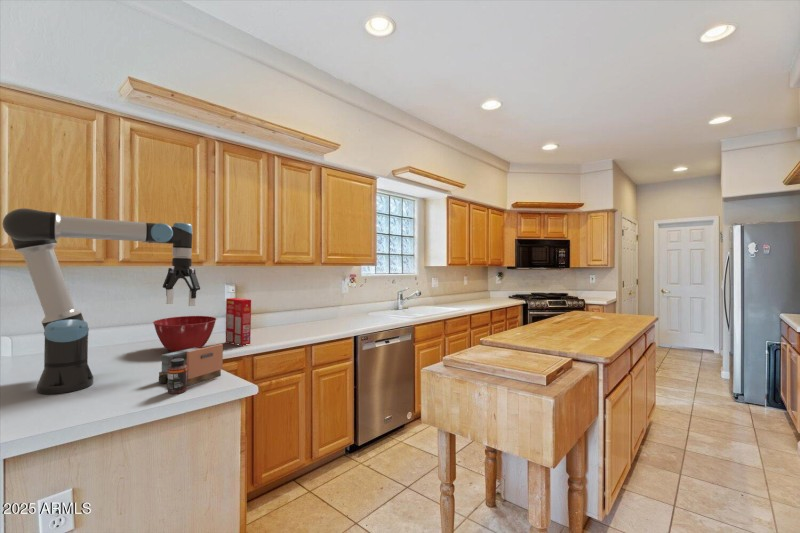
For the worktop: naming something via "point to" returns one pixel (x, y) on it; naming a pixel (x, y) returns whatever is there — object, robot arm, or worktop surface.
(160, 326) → the mixing bowl
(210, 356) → the tailgate
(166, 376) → the flatbed
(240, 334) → the food packaging
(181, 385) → the supplement bottle
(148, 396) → the worktop surface
